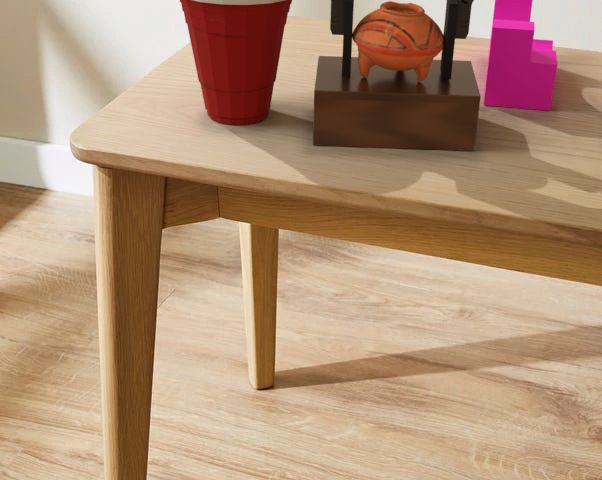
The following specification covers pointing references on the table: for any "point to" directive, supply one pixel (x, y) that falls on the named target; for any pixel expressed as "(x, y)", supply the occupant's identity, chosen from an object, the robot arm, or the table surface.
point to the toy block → (518, 60)
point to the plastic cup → (236, 54)
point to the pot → (398, 39)
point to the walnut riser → (395, 107)
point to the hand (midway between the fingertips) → (395, 71)
